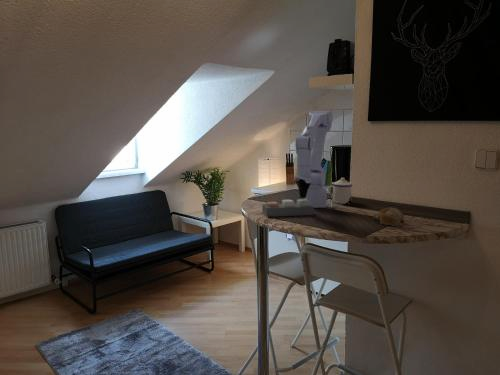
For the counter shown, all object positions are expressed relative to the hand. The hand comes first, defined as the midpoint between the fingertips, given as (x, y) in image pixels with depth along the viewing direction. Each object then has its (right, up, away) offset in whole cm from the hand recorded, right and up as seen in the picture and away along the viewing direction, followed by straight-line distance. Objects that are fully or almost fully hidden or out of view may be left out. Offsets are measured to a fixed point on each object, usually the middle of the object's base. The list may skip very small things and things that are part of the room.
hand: (302, 197), depth 173 cm
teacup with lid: (+21, -3, +25) cm, 32 cm away
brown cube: (-13, -6, -1) cm, 14 cm away
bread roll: (+31, -10, -14) cm, 36 cm away
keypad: (-6, -7, 0) cm, 9 cm away
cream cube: (-6, -5, 0) cm, 8 cm away
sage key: (0, -5, +1) cm, 5 cm away
